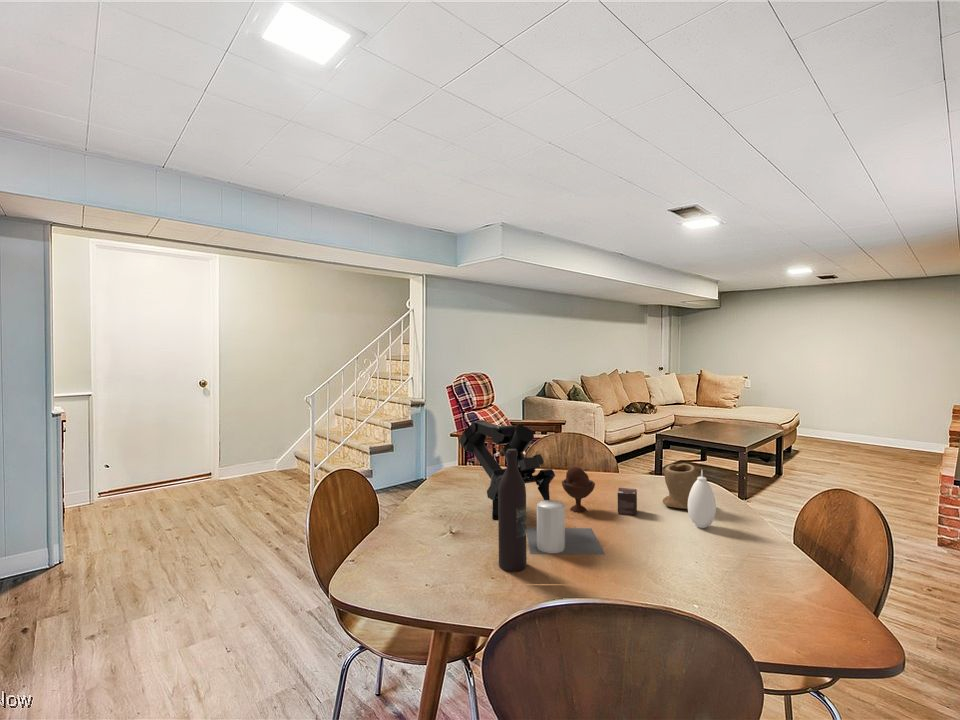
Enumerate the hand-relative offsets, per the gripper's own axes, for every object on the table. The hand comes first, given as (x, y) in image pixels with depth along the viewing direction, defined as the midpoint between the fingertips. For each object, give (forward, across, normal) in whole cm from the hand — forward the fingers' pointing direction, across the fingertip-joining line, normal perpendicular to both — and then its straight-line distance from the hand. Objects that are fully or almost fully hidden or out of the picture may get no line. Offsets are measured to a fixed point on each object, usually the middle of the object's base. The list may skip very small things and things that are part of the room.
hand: (535, 506), depth 140 cm
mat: (+10, +6, +3) cm, 12 cm away
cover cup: (+12, 0, +1) cm, 12 cm away
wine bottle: (+16, -15, -2) cm, 22 cm away
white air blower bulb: (+18, +50, -4) cm, 53 cm away
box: (+4, +39, +10) cm, 40 cm away
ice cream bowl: (-3, +26, +16) cm, 31 cm away
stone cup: (+8, +60, +6) cm, 60 cm away
